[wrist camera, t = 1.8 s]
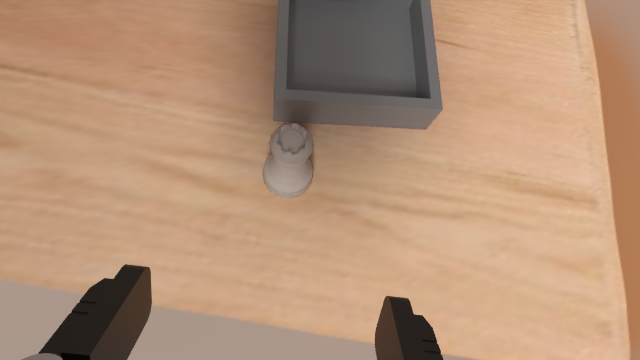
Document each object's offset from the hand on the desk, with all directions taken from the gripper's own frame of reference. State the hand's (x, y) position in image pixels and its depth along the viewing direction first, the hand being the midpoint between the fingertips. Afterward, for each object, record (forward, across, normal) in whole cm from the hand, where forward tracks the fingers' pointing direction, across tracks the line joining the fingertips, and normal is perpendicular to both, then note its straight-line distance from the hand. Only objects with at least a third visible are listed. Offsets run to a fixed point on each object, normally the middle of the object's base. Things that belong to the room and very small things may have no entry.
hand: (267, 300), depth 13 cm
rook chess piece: (+22, 0, +6) cm, 23 cm away
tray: (+32, -4, -4) cm, 32 cm away
